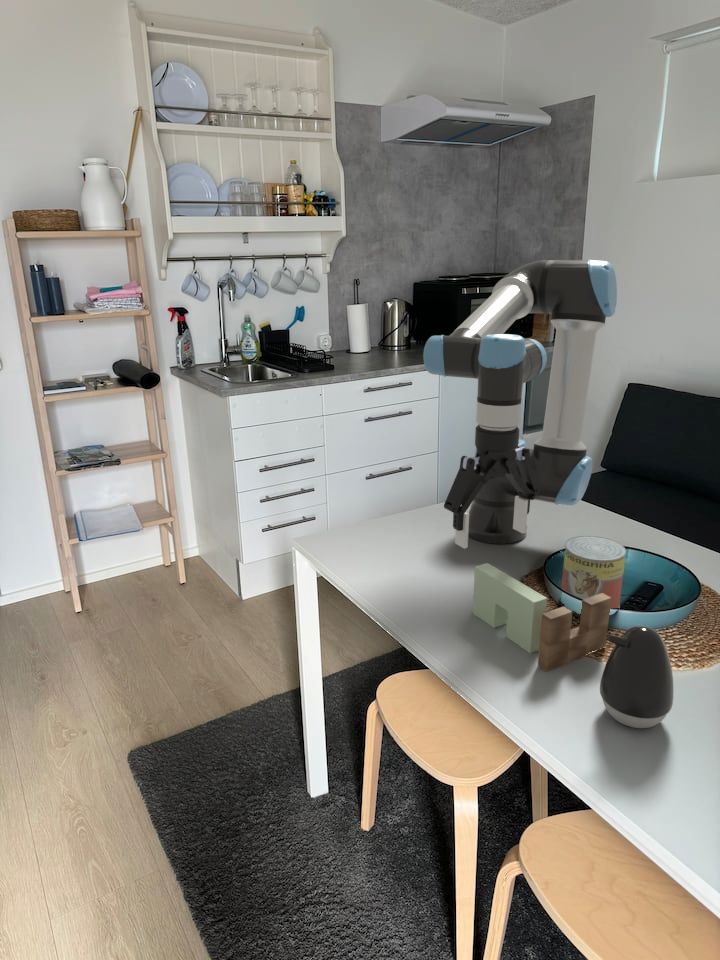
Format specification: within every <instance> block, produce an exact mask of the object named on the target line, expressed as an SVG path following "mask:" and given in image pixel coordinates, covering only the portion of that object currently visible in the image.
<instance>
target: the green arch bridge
mask: <svg viewBox="0 0 720 960" xmlns="http://www.w3.org/2000/svg"><path fill="white" fill-rule="evenodd" d="M472 597H473V601H472V614H473V615H475V616H476V617H478V618H479V619H480V620H481V621H483V622H484V623H486V624H487V625H489V626H490V627H491V628H493V629H495V628H498V627H500V626H504V625H506V631H505V634H506V635H505V637H506V638H508V639H509V640H510V641H512V642H513V643H514V644H517V645H518V646H519V647H521V648H522V649H523V650H525V651H526V652H528V654H532V653H534V652H537V651H539V646H540V634H541V622H542V614H543V613H546V612H547V607H548V606H547V605H548V597H547V596H544V595H543V594H541V593H539V592H537V591H536V590H534V589H532V588H531V587H529V586H527V585H525V584H524V583H522V582H521V581H519V580H517V579H516V578H514V577H512V576H511V575H508V574H507V573H506V572H503V571H502V570H500V569H499V568H497V567H495V566H493V565H491V564H490V563H489V562H487V563H482V564H480V565H476V566H474V581H473V596H472Z"/></svg>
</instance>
